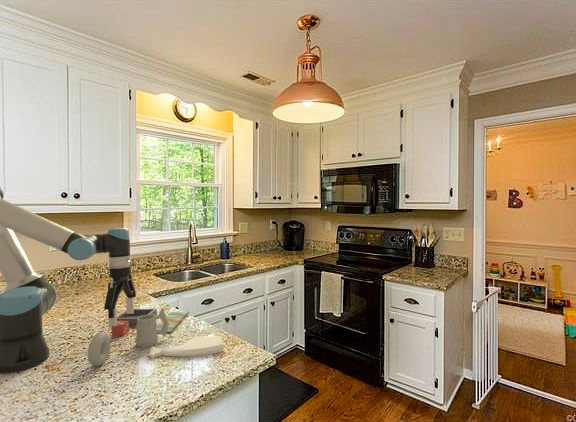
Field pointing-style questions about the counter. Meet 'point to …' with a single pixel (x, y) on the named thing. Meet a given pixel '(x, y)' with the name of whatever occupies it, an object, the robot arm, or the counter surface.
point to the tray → (135, 315)
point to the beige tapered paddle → (191, 348)
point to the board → (173, 320)
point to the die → (120, 328)
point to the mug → (150, 329)
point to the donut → (99, 349)
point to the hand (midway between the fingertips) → (121, 319)
